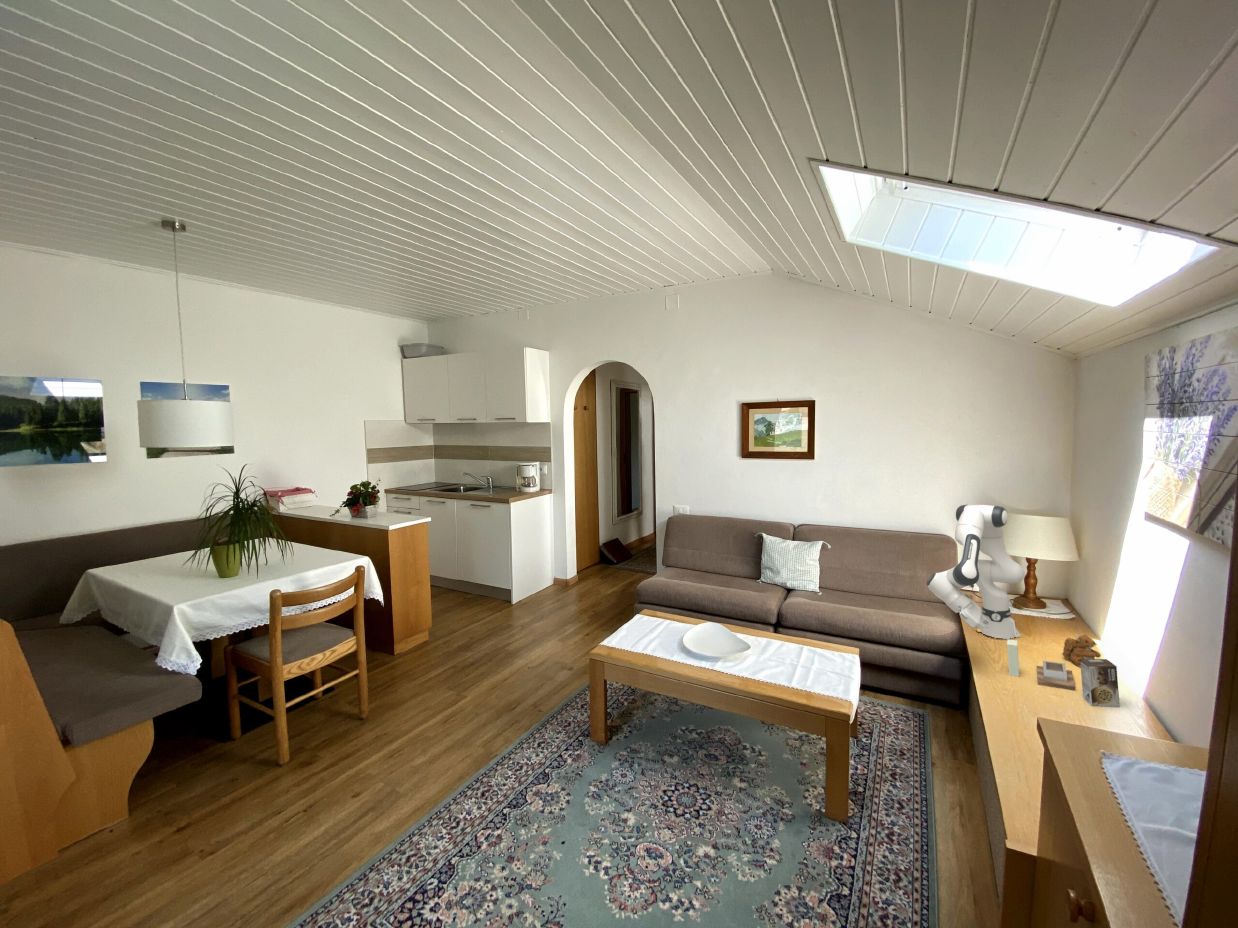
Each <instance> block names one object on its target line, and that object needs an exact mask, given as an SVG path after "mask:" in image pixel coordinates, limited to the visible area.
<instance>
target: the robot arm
mask: <svg viewBox="0 0 1238 928" xmlns="http://www.w3.org/2000/svg"><path fill="white" fill-rule="evenodd" d="M955 518H956V521H957V523H956V527H955V530H954V531H955V532H954V539H955V541H956V542H957V544H959V545H961V546H962V547H963V548H962V554H961V559H960V561H959V563H958V564H957V565H955V566H954V567H952V568H950V569H947V570H945V571H941V572H934V573H932V574H931V575H930V576H929V578H928V579H927V581H926V586H927V588H928V589H929V590H930V591H931V592H932V593H933V594H934V595H935V596H936V598H938V599H940V600H942V601H943V602H944V603H945V604H946V606H947V607H948V608H950V609H951V611H953V612H954V613H955V614H956V613H957V614H958V613H959V616H960V618H961V619H962V620H963V621H965V623H966V624H967V625H969V627H970V628H973V629H975V628H979V629H980V631H981V632H983V633H985V634H987V635H989V636H992V637H996V638H1003V639H1002V640H1007V639H1009V640H1011V639H1014V637H1016V638H1022V637H1021V636H1022V635H1021V634H1020V632H1019V630H1018V629H1017V626H1016V624H1015V620H1014V619H1013V618H1012V617H1011V609H1010V603H1009V594H1008V593H1007V592H1006V591H1005V590H1004V589H1003V588H1000V587H998V586H997V585H996V584H995V583H1002V584H1020V583H1021V582H1022V581H1023V580H1024V578H1025V572H1026V571H1025V569H1024V568H1023V567H1022V565H1021V564H1019V563H1018V562H1016V561H1015V560H1013V558H1012V557H1011V556H1010V555H1009V554H1008V552H1007V550H1006V549H1007V548H1006V546H1005V541H1004V539H1005V538H1004V531H1003V527H1004V526H1006V524H1007V523H1008V521H1009V515H1008V510H1007V509H1006V508H1005V507H1003V506H1000V505H990V504H963V505H962V504H961V505H960V506H958V507H957V508H956V510H955ZM980 552H981V553H982V554H984V555H986V556H989V558H990V559H979V558H980V557H979V556H980ZM975 584H976V586H977V587H978V589H979V591H980V594H981V599H982V607H980V606H979V605H978V604H977V602H975V601H974V600H973V599H971V596H970V595H968V594H966V593H963V592H962V590H961V589H963V588H966V587H968V586H973V585H975ZM996 638H995V639H996ZM1010 638H1011V639H1010Z"/></svg>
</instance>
